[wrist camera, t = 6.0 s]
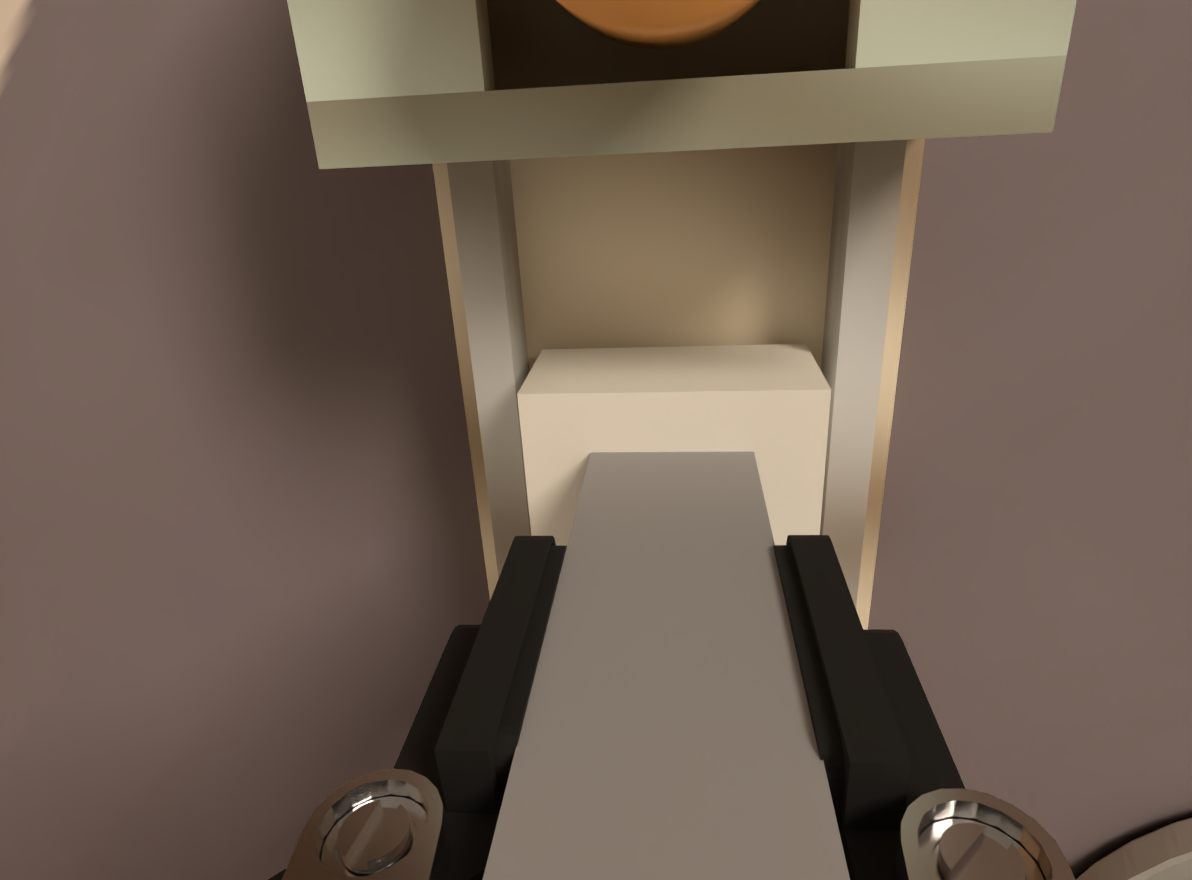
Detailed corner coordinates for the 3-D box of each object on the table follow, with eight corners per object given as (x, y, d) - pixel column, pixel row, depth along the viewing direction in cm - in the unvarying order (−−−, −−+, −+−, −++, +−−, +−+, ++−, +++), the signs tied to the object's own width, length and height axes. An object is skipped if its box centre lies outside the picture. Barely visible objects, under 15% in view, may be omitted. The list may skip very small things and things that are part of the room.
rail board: (829, 850, 22) (878, 1092, 17) (532, 834, 23) (488, 1057, 18) (952, -290, 12) (1191, -638, 6) (402, -229, 13) (195, -482, 7)
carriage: (791, 561, 16) (999, 1376, 6) (560, 559, 17) (368, 1294, 6) (805, 343, 14) (1157, 982, 4) (542, 349, 15) (221, 919, 4)
